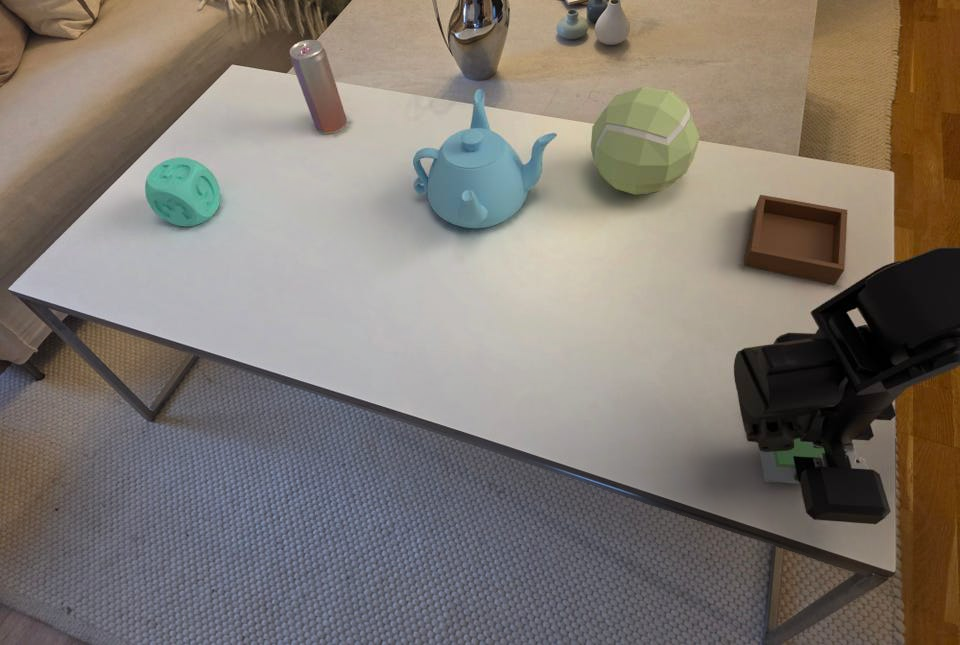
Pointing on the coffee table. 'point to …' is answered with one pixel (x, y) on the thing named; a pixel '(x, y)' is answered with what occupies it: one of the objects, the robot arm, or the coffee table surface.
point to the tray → (798, 239)
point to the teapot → (478, 174)
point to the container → (786, 461)
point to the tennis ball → (644, 140)
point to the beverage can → (318, 86)
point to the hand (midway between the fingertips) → (794, 455)
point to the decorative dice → (182, 191)
